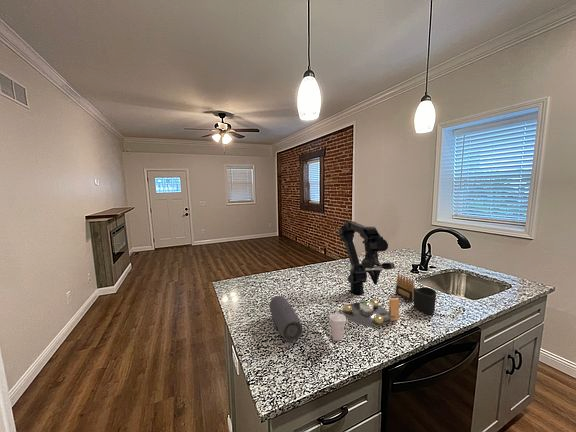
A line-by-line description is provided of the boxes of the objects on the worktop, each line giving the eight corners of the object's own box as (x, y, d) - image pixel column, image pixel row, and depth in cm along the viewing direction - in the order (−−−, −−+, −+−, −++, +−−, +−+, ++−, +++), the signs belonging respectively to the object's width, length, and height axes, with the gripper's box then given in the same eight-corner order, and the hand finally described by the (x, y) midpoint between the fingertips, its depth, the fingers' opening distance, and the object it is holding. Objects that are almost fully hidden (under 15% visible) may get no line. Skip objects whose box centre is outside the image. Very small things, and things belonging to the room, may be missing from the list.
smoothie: (327, 335, 99) (327, 302, 97) (342, 334, 99) (343, 302, 98) (331, 346, 93) (331, 311, 91) (348, 345, 93) (348, 310, 91)
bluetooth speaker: (304, 342, 95) (304, 318, 94) (281, 347, 93) (280, 322, 91) (287, 313, 117) (287, 293, 116) (268, 316, 114) (268, 296, 113)
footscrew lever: (376, 325, 103) (377, 303, 102) (371, 320, 107) (372, 299, 106) (400, 321, 106) (401, 300, 104) (394, 317, 110) (395, 296, 108)
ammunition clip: (414, 301, 127) (415, 278, 126) (411, 301, 126) (413, 279, 125) (397, 293, 137) (398, 272, 135) (395, 293, 136) (396, 272, 135)
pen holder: (434, 317, 111) (436, 296, 110) (411, 312, 116) (412, 292, 115) (435, 308, 119) (436, 289, 118) (413, 304, 124) (414, 285, 123)
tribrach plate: (333, 313, 116) (333, 300, 115) (362, 300, 128) (362, 289, 127) (371, 334, 99) (371, 320, 98) (400, 318, 111) (401, 305, 110)
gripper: (346, 254, 121) (350, 286, 119) (384, 251, 110) (389, 287, 107) (356, 253, 130) (360, 283, 127) (392, 250, 118) (397, 283, 115)
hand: (375, 284), depth 119 cm, fingers closed
